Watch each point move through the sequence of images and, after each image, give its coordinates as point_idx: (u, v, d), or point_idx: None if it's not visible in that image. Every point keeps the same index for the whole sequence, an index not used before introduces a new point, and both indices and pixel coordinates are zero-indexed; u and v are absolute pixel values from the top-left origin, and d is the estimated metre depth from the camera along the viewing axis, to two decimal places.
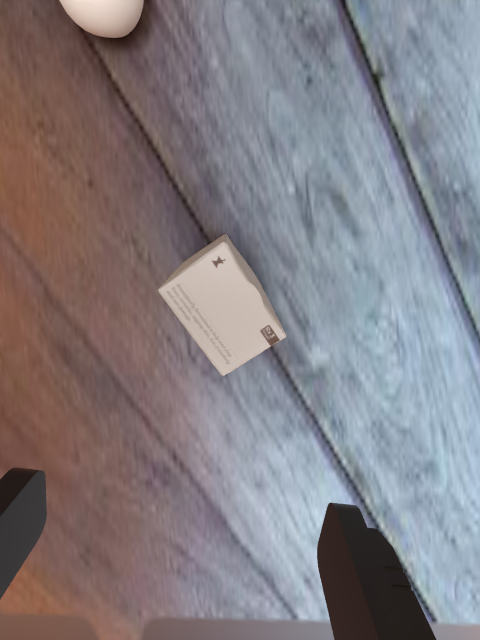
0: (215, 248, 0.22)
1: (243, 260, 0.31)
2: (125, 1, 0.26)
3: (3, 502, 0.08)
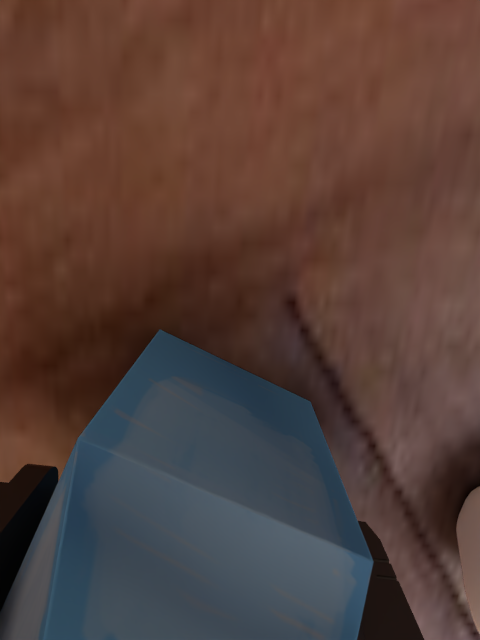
0: None
1: None
2: None
3: (19, 497, 0.08)
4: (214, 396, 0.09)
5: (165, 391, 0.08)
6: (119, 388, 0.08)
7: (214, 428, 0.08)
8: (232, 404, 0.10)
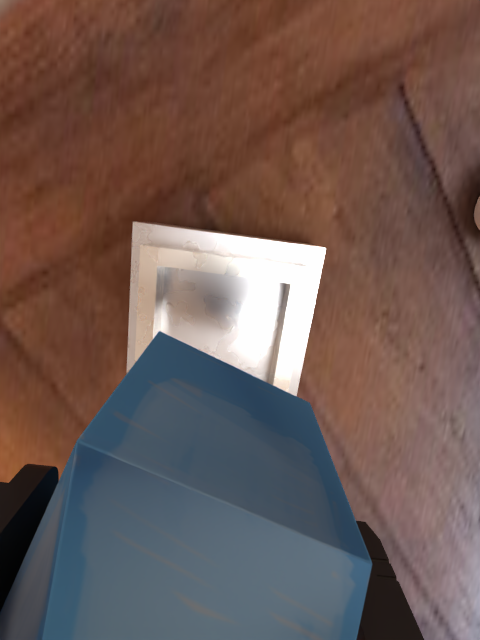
0: None
1: None
2: None
3: (19, 497, 0.08)
4: (213, 398, 0.09)
5: (165, 393, 0.08)
6: (118, 390, 0.08)
7: (213, 430, 0.08)
8: (231, 406, 0.10)
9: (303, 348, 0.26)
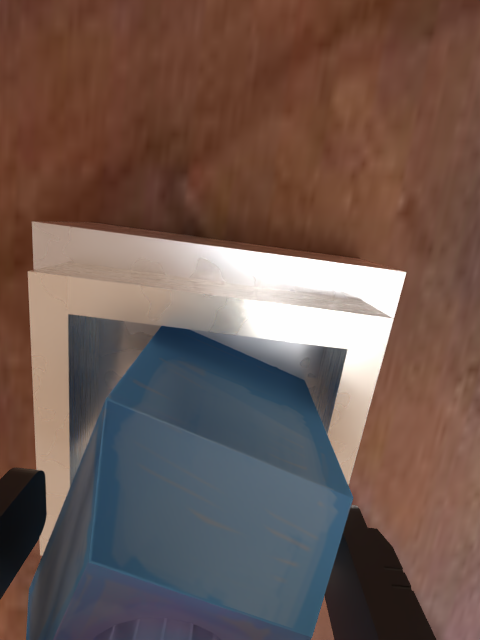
0: None
1: None
2: None
3: (3, 502, 0.08)
4: (216, 373, 0.11)
5: (174, 367, 0.10)
6: (135, 364, 0.09)
7: (217, 397, 0.09)
8: (232, 379, 0.11)
9: None
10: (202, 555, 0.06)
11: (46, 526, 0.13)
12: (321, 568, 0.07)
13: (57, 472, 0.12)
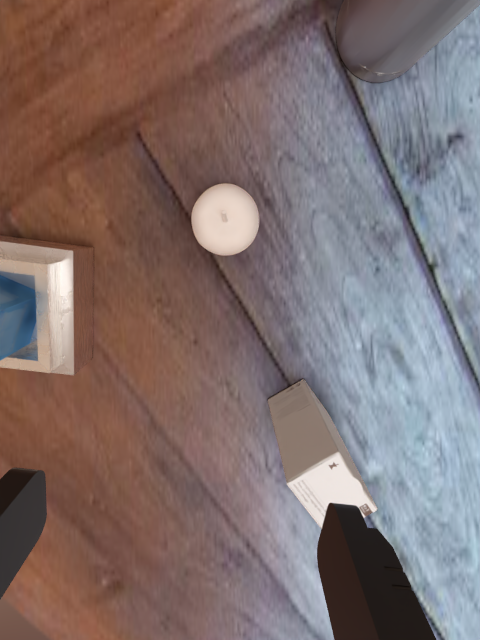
0: (331, 456, 0.30)
1: (326, 415, 0.39)
2: (248, 241, 0.34)
3: (3, 502, 0.08)
4: None
5: None
6: None
7: None
8: None
9: (71, 323, 0.36)
10: None
11: None
12: None
13: None
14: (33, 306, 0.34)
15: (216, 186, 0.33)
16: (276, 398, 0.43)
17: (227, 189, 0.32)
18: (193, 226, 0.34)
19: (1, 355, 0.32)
